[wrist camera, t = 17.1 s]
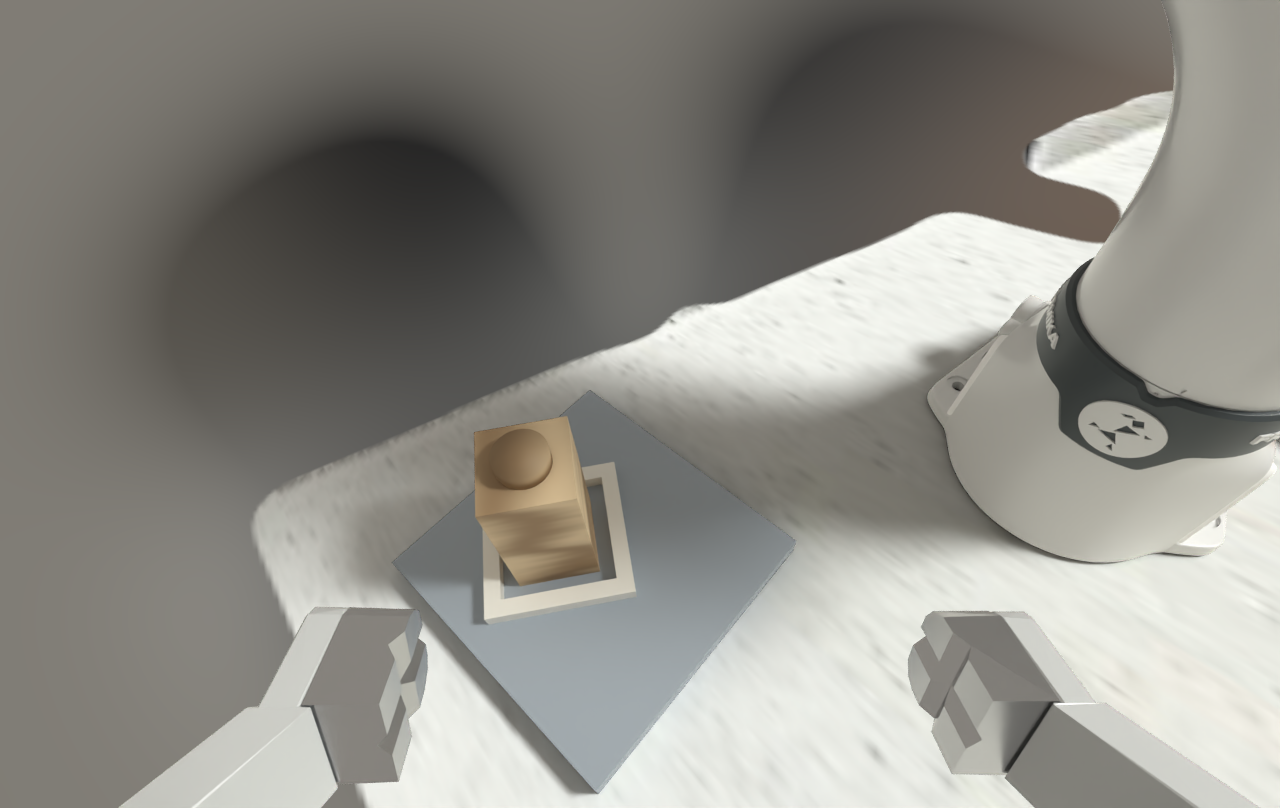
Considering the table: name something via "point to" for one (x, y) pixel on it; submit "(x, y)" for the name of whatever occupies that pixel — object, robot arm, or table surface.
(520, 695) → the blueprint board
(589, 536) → the oak pillar
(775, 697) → the table surface
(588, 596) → the socket frame
